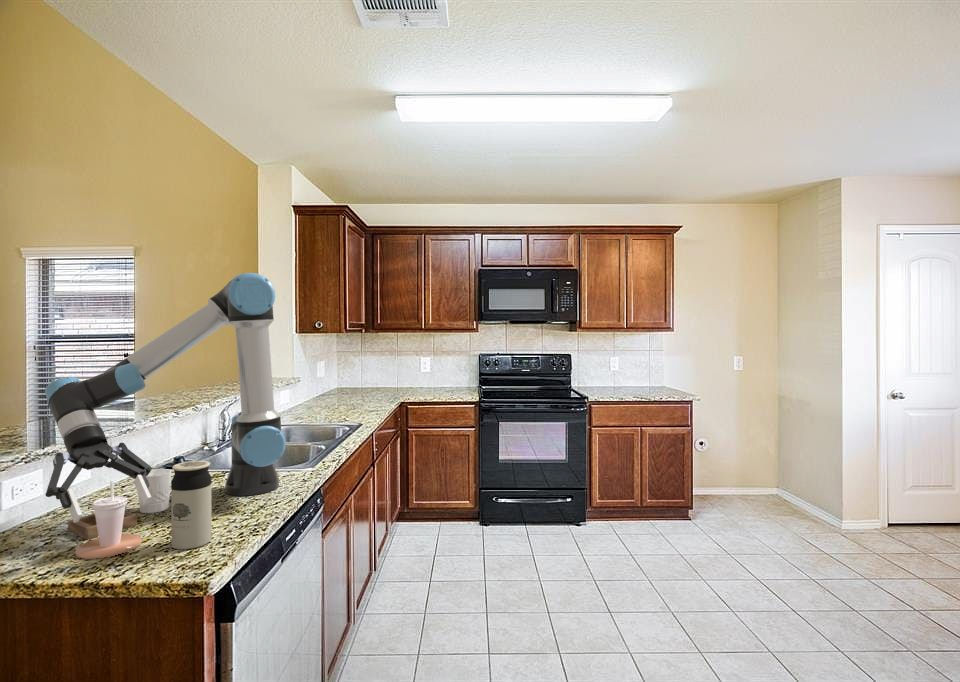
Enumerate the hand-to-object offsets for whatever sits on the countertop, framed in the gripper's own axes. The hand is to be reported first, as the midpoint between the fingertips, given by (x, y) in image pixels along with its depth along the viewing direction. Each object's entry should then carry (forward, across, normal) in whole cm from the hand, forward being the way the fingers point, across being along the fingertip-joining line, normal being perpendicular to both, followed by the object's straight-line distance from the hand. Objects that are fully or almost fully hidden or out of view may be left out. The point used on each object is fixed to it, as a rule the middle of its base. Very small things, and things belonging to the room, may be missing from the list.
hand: (114, 509), depth 114 cm
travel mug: (+14, -11, +1) cm, 18 cm away
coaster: (+5, 0, -8) cm, 9 cm away
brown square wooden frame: (-6, -5, -18) cm, 20 cm away
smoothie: (+4, 0, -8) cm, 9 cm away
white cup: (-8, -19, -21) cm, 29 cm away
